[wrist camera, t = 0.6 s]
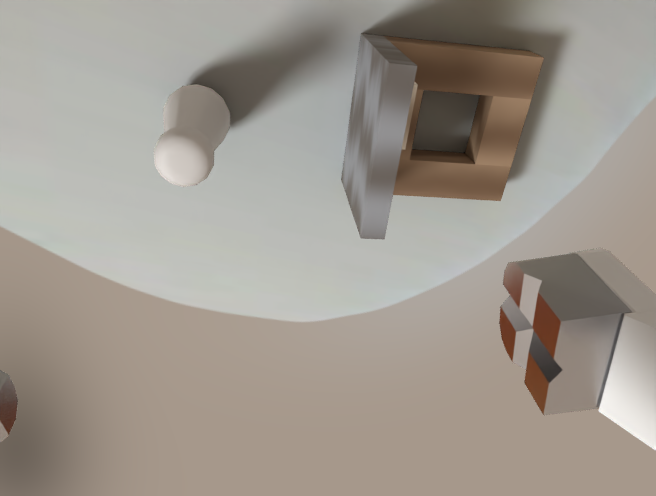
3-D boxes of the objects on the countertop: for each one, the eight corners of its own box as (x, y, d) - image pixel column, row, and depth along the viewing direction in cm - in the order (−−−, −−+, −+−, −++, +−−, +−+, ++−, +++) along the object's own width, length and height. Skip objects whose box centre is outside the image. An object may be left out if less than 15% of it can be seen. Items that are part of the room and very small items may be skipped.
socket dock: (361, 33, 48) (389, 63, 37) (529, 50, 50) (599, 83, 40) (341, 179, 55) (360, 238, 44) (489, 188, 57) (540, 246, 47)
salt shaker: (238, 89, 49) (233, 137, 38) (223, 147, 52) (214, 208, 40) (173, 69, 47) (147, 113, 36) (161, 130, 50) (134, 188, 39)
